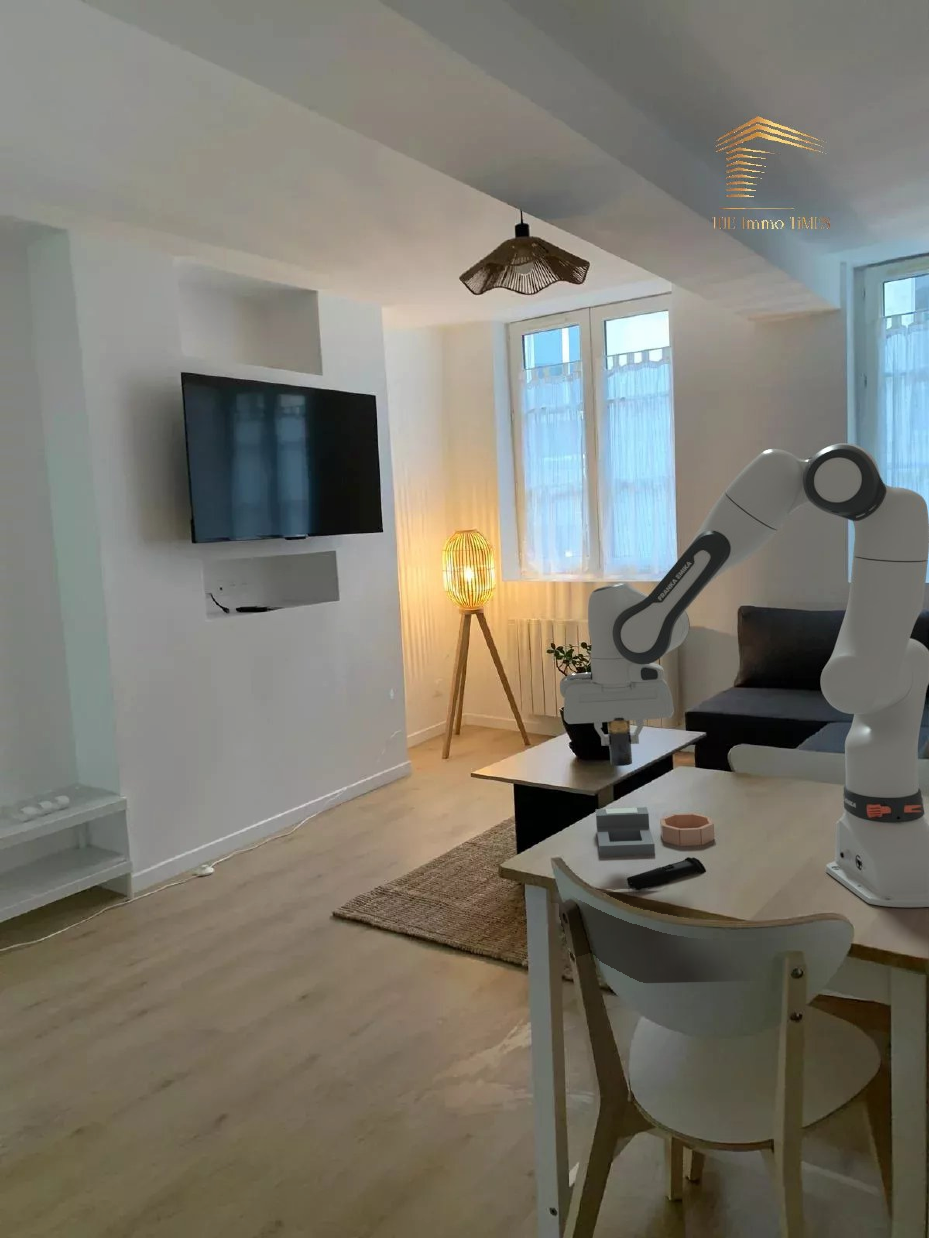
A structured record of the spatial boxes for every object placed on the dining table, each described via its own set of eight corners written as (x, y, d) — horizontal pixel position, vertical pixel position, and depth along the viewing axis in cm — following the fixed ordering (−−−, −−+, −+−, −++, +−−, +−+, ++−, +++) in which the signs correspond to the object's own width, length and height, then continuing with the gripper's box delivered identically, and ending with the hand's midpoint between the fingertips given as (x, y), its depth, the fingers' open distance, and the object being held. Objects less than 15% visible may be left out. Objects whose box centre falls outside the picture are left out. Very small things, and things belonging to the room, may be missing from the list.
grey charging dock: (655, 857, 172) (653, 829, 171) (600, 859, 173) (598, 831, 172) (647, 831, 185) (646, 806, 185) (597, 833, 187) (595, 808, 186)
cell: (633, 765, 173) (629, 713, 172) (610, 766, 174) (607, 714, 173) (631, 759, 177) (628, 708, 176) (609, 760, 178) (606, 709, 177)
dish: (717, 846, 175) (716, 828, 174) (664, 848, 176) (663, 830, 175) (708, 829, 184) (708, 812, 184) (659, 831, 185) (658, 814, 185)
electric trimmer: (622, 891, 158) (621, 873, 158) (693, 869, 165) (692, 851, 165) (636, 898, 155) (634, 880, 155) (708, 875, 162) (707, 857, 162)
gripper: (559, 677, 172) (564, 751, 173) (672, 670, 169) (677, 745, 171) (559, 671, 178) (564, 743, 179) (668, 664, 176) (672, 737, 177)
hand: (620, 744), depth 175 cm, fingers closed on cell, 4 cm apart
